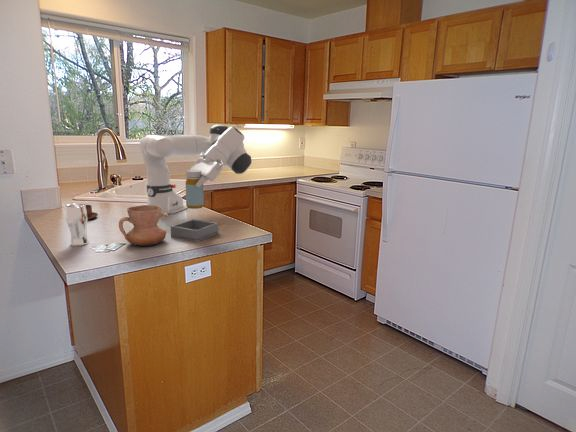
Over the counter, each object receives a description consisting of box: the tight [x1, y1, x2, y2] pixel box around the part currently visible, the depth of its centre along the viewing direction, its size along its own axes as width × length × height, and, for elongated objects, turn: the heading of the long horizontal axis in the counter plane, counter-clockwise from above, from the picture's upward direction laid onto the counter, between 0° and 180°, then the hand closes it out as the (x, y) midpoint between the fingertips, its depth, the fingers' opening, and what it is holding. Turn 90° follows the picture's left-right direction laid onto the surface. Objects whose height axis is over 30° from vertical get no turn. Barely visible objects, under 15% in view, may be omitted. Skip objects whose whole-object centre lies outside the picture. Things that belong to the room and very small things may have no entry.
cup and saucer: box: [85, 204, 98, 221], centre depth 184 cm, size 12×12×6 cm
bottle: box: [185, 169, 205, 210], centre depth 157 cm, size 7×7×15 cm
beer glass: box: [65, 203, 90, 247], centre depth 146 cm, size 7×7×15 cm
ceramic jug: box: [118, 204, 169, 247], centre depth 148 cm, size 18×14×14 cm
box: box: [170, 218, 219, 243], centre depth 160 cm, size 14×14×4 cm
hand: (192, 184), depth 156 cm, fingers closed on bottle, 7 cm apart
